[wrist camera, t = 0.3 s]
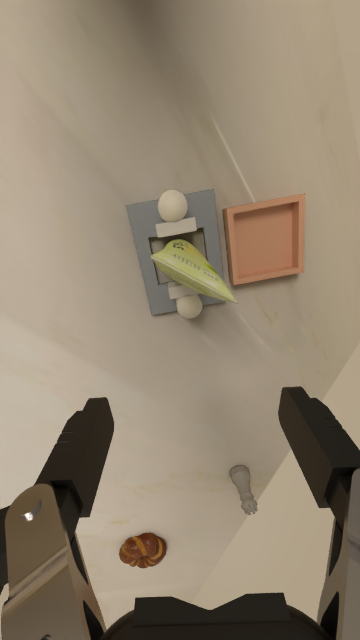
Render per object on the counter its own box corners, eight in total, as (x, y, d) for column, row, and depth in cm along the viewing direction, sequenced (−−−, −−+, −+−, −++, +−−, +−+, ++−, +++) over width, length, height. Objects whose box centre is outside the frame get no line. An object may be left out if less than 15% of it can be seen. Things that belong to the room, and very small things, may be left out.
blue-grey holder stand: (126, 204, 32) (120, 199, 28) (211, 187, 32) (219, 180, 28) (152, 314, 38) (150, 326, 34) (224, 301, 38) (232, 310, 34)
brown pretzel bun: (123, 558, 63) (120, 577, 59) (117, 533, 59) (114, 552, 55) (167, 553, 63) (168, 571, 60) (165, 528, 59) (165, 547, 56)
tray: (222, 209, 33) (226, 208, 31) (295, 195, 33) (304, 193, 31) (229, 281, 37) (233, 285, 35) (295, 269, 37) (303, 272, 35)
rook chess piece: (226, 476, 53) (236, 516, 46) (233, 462, 52) (244, 501, 45) (244, 479, 54) (257, 518, 47) (251, 465, 53) (265, 504, 45)
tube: (195, 233, 34) (229, 236, 16) (201, 267, 36) (239, 304, 18) (157, 242, 35) (150, 256, 16) (166, 276, 36) (167, 321, 18)
